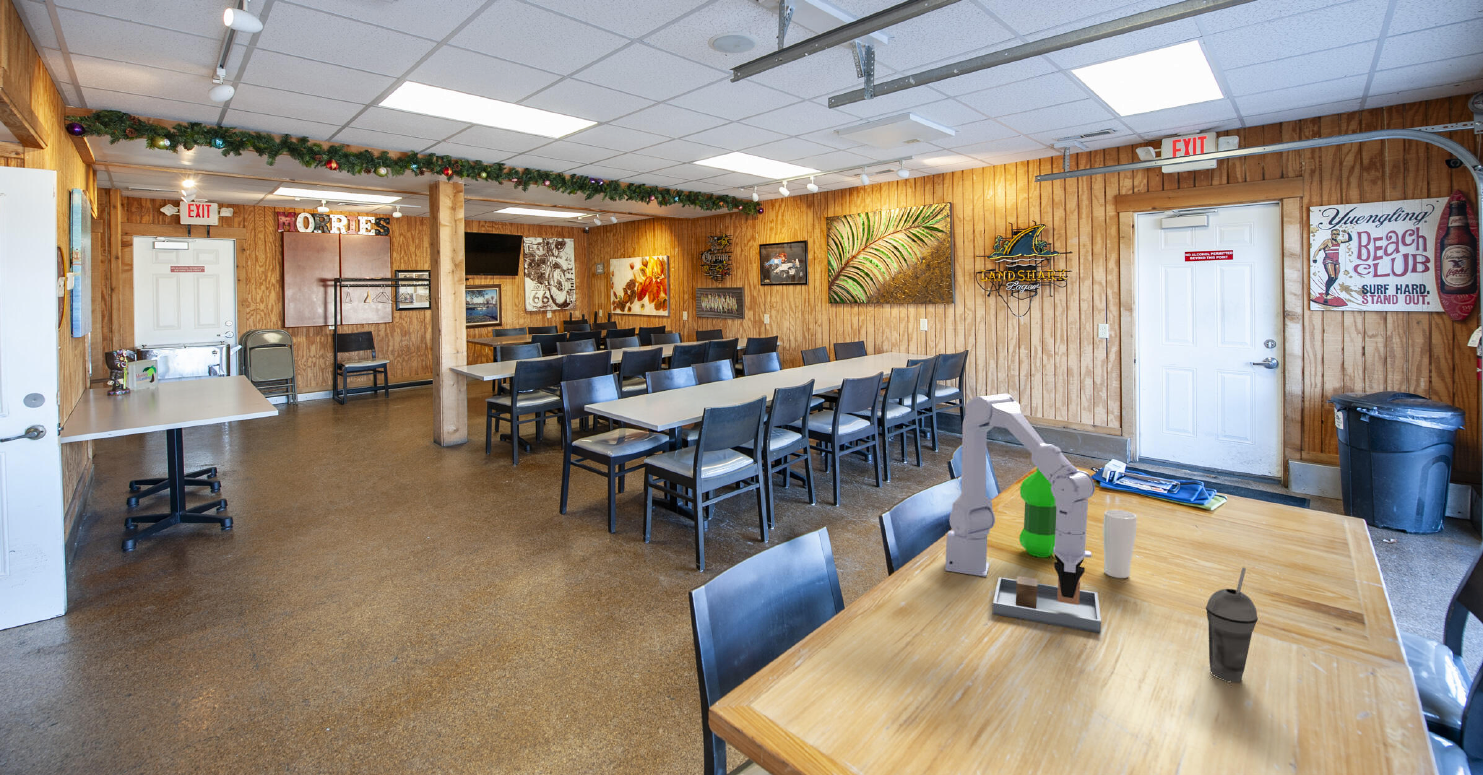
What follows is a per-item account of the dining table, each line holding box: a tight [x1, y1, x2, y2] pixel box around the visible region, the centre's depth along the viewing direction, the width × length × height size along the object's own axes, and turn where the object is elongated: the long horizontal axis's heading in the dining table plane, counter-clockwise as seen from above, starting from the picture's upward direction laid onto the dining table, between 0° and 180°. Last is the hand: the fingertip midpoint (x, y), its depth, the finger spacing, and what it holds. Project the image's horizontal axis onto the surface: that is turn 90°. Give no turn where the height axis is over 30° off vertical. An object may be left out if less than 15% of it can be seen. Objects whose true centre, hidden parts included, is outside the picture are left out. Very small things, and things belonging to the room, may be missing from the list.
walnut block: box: [1016, 575, 1039, 609], centre depth 143 cm, size 4×4×5 cm
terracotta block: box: [1057, 577, 1081, 605], centre depth 139 cm, size 4×4×5 cm
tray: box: [992, 576, 1102, 634], centre depth 141 cm, size 20×14×2 cm
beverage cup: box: [1205, 567, 1259, 683], centre depth 115 cm, size 7×7×20 cm
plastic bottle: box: [1018, 464, 1057, 558], centre depth 170 cm, size 10×10×25 cm
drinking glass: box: [1102, 509, 1138, 579], centre depth 157 cm, size 7×7×15 cm
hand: (1067, 592), depth 139 cm, fingers closed on terracotta block, 4 cm apart
